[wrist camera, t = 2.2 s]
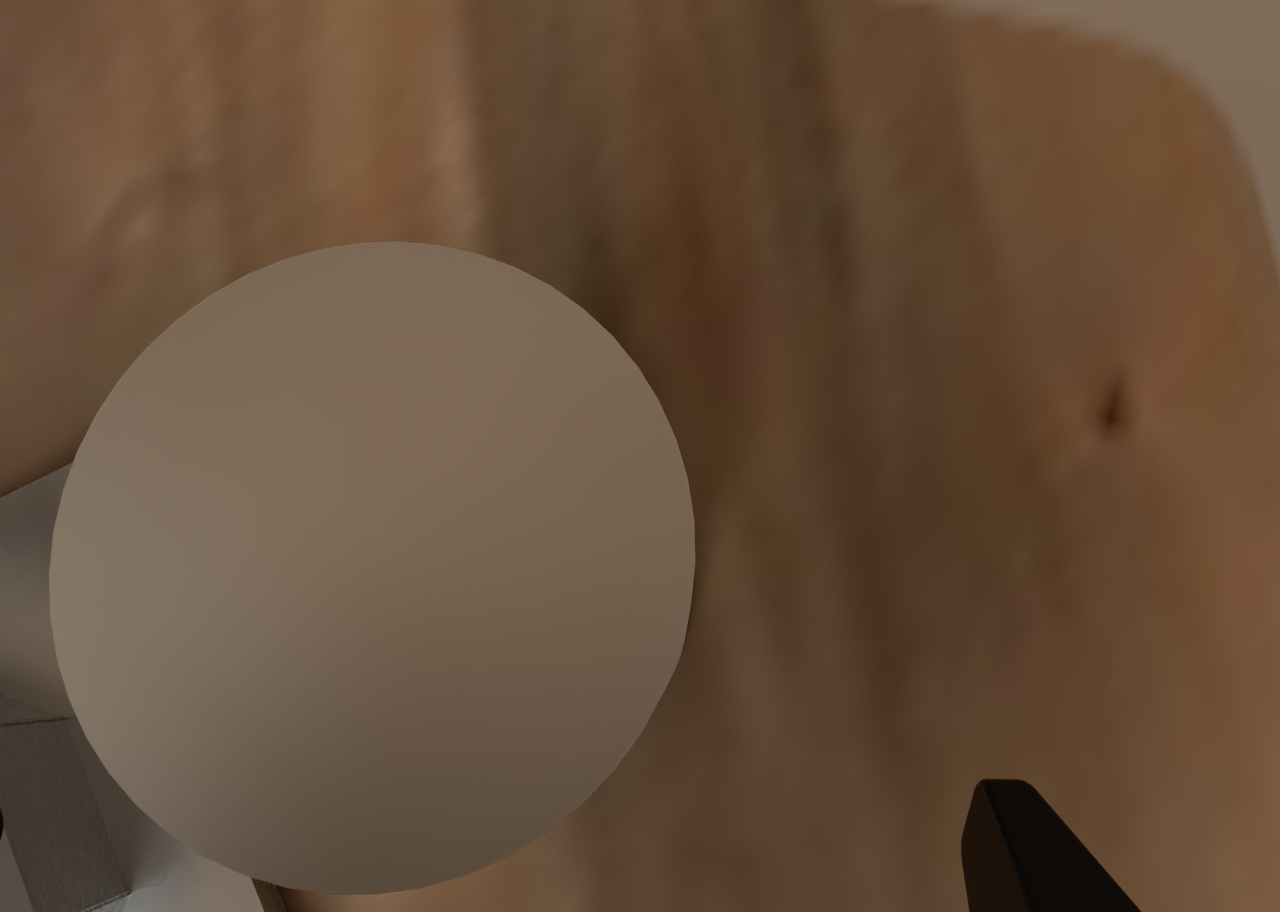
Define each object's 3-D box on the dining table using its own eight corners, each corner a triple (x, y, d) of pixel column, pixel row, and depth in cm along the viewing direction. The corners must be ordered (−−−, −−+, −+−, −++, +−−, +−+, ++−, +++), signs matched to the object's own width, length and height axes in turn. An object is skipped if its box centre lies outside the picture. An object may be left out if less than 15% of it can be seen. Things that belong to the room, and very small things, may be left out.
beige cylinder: (723, 669, 19) (815, 695, 6) (530, 770, 18) (189, 1023, 6) (627, 480, 19) (520, 142, 7) (439, 574, 19) (-37, 412, 6)
